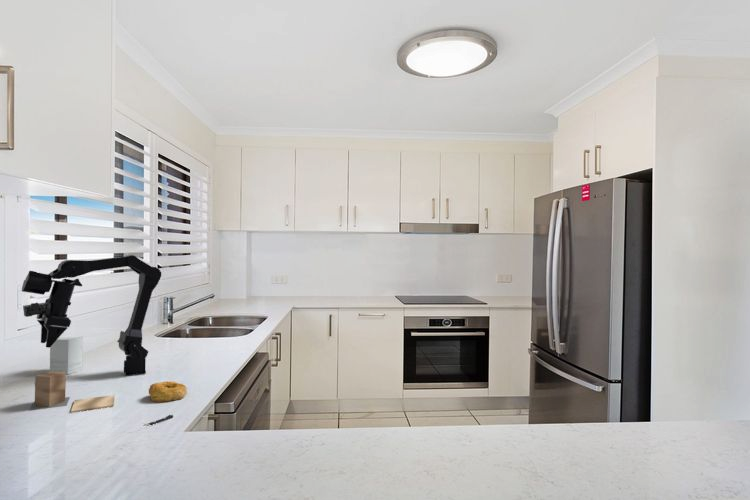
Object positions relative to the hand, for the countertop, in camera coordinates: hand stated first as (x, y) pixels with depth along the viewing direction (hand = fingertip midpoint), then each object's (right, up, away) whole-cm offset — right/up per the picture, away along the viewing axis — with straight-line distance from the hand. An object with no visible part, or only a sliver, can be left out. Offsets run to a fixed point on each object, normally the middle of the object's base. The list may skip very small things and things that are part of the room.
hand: (45, 345), depth 137 cm
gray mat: (+12, -14, -14) cm, 23 cm away
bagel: (+43, -15, -6) cm, 46 cm away
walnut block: (+12, -14, -14) cm, 23 cm away
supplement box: (-8, -14, +20) cm, 26 cm away
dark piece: (+46, -15, -30) cm, 57 cm away
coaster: (+25, -14, -14) cm, 32 cm away
